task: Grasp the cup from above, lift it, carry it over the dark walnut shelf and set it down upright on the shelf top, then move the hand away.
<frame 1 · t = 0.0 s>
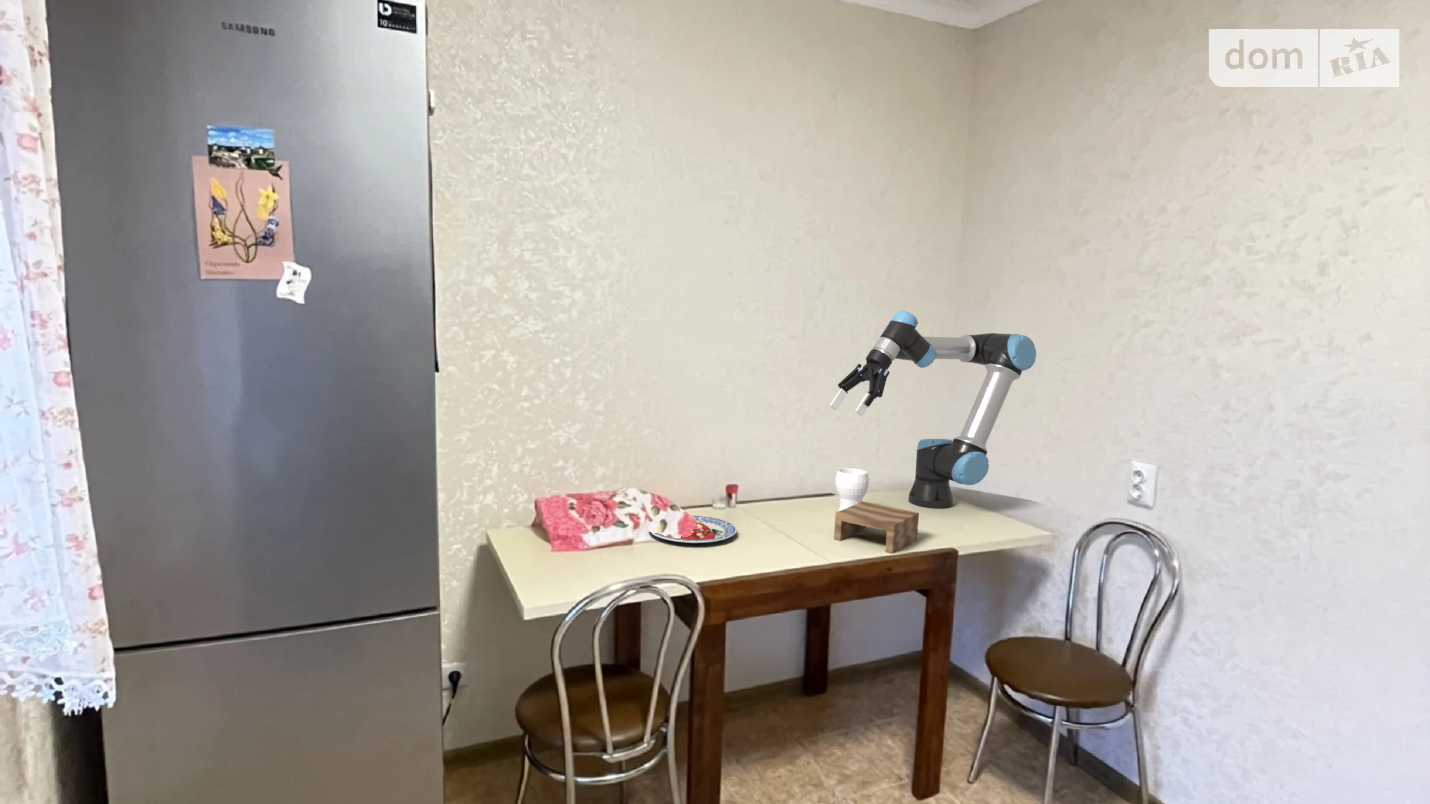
hand: (845, 410, 222), 36 cm above the table, tool tilted 35°, fingers open, 13 cm apart
cup: (849, 516, 237), on the table
walnut shelf: (875, 539, 213), on the table
ceramic plate: (691, 535, 211), on the table
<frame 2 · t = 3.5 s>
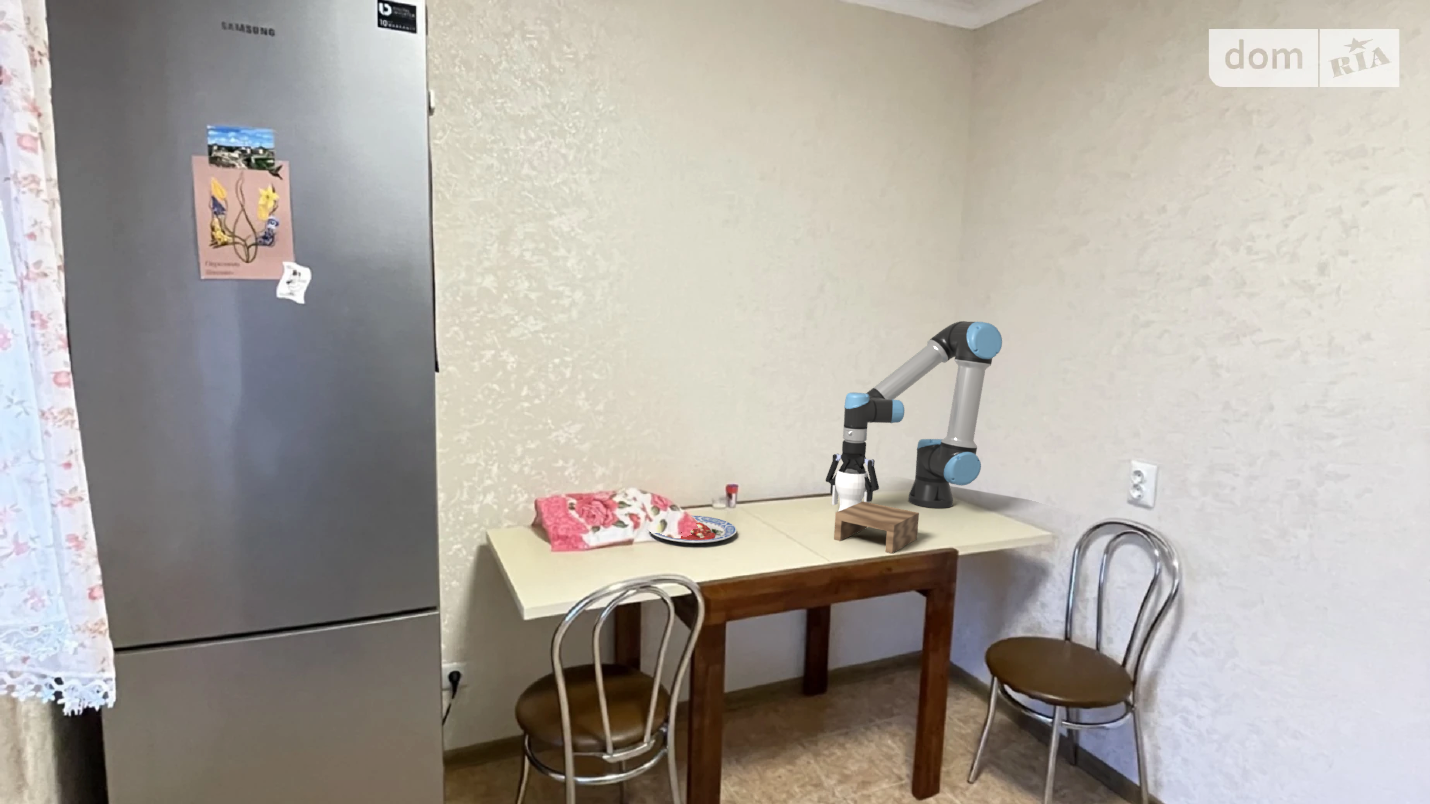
hand: (850, 507, 236), 3 cm above the table, tool pointing down, fingers closed on cup, 11 cm apart
cup: (849, 516, 237), on the table, touching gripper
everything else where it was.
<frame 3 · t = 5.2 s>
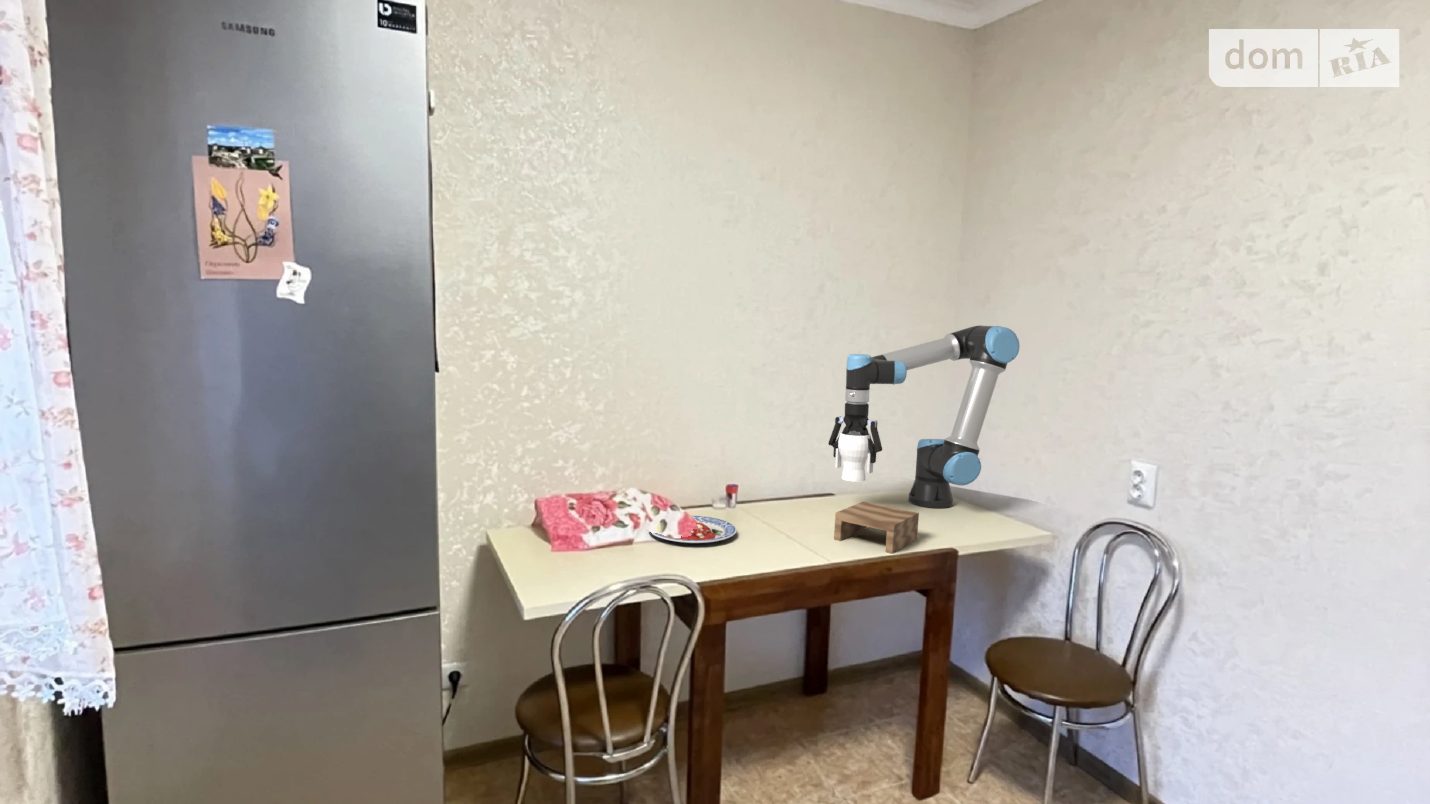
hand: (853, 470, 235), 15 cm above the table, tool pointing down, fingers closed on cup, 11 cm apart
cup: (853, 479, 235), point 12 cm above the table, touching gripper
everything else where it was.
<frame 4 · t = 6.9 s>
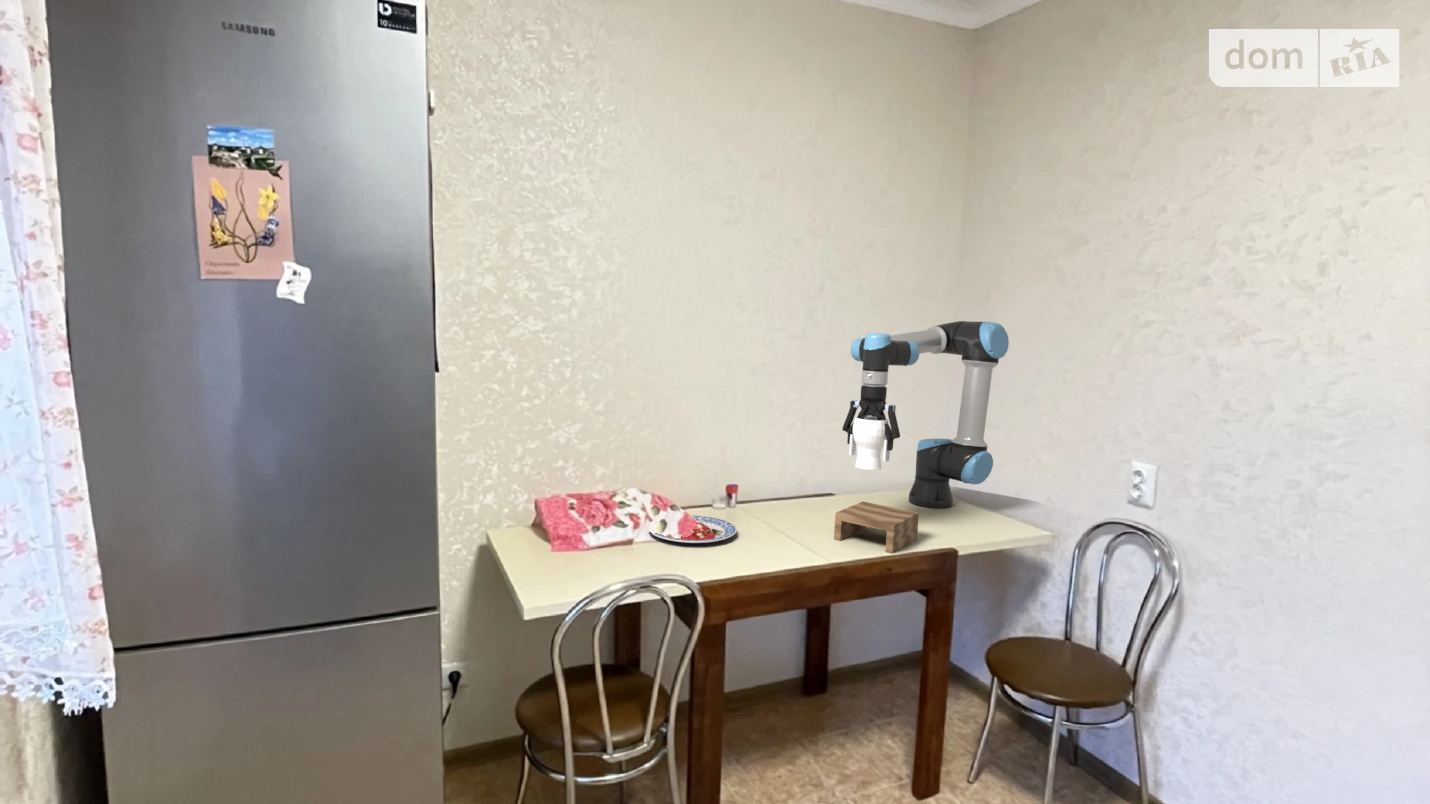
hand: (868, 458, 219), 22 cm above the table, tool pointing down, fingers closed on cup, 11 cm apart
cup: (867, 468, 219), point 19 cm above the table, touching gripper
everything else where it was.
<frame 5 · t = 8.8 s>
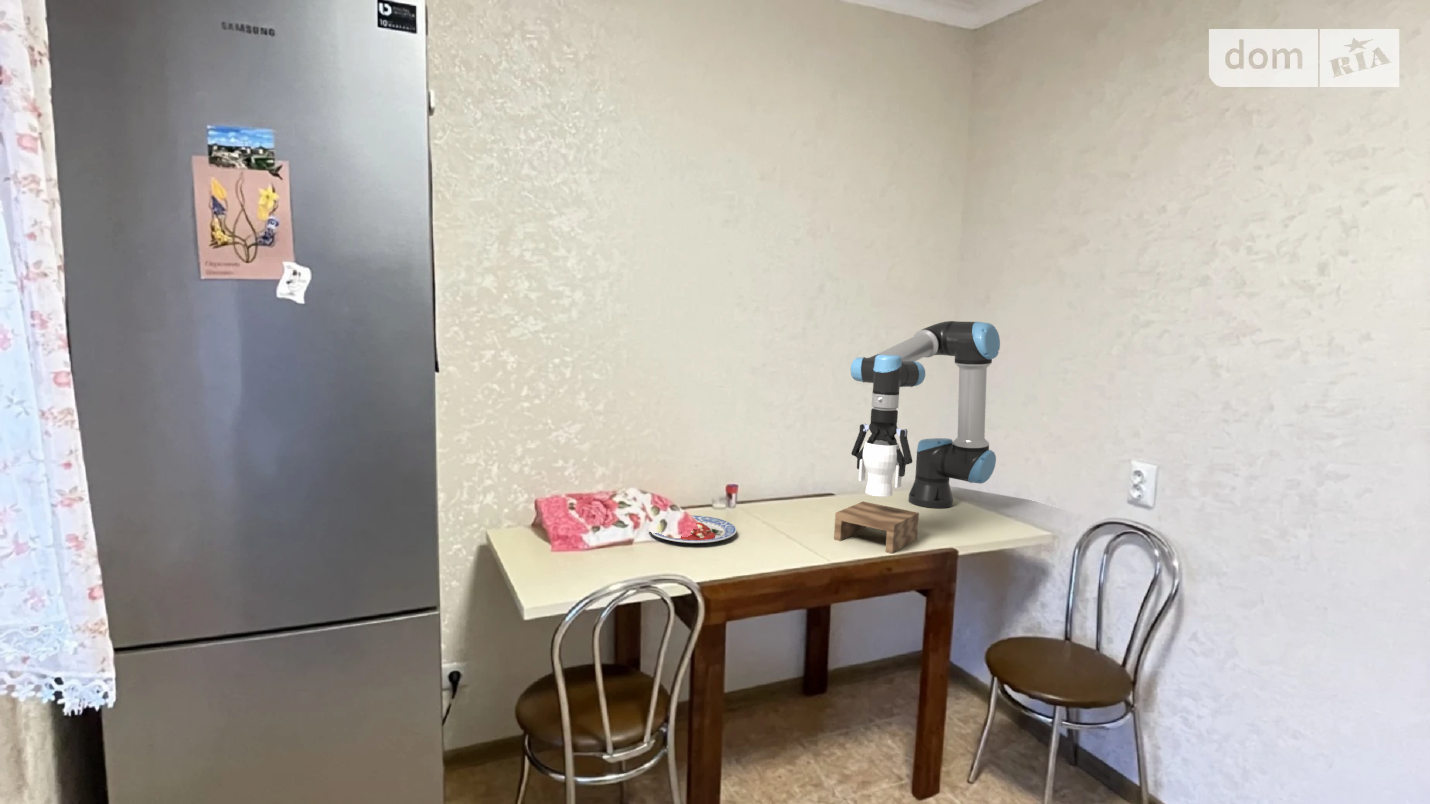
hand: (879, 483, 211), 17 cm above the table, tool pointing down, fingers closed on cup, 11 cm apart
cup: (878, 494, 211), point 14 cm above the table, touching gripper
everything else where it was.
when the fingers open (12 cm above the table, at t = 10.4 s): cup drops 1 cm, resting on walnut shelf.
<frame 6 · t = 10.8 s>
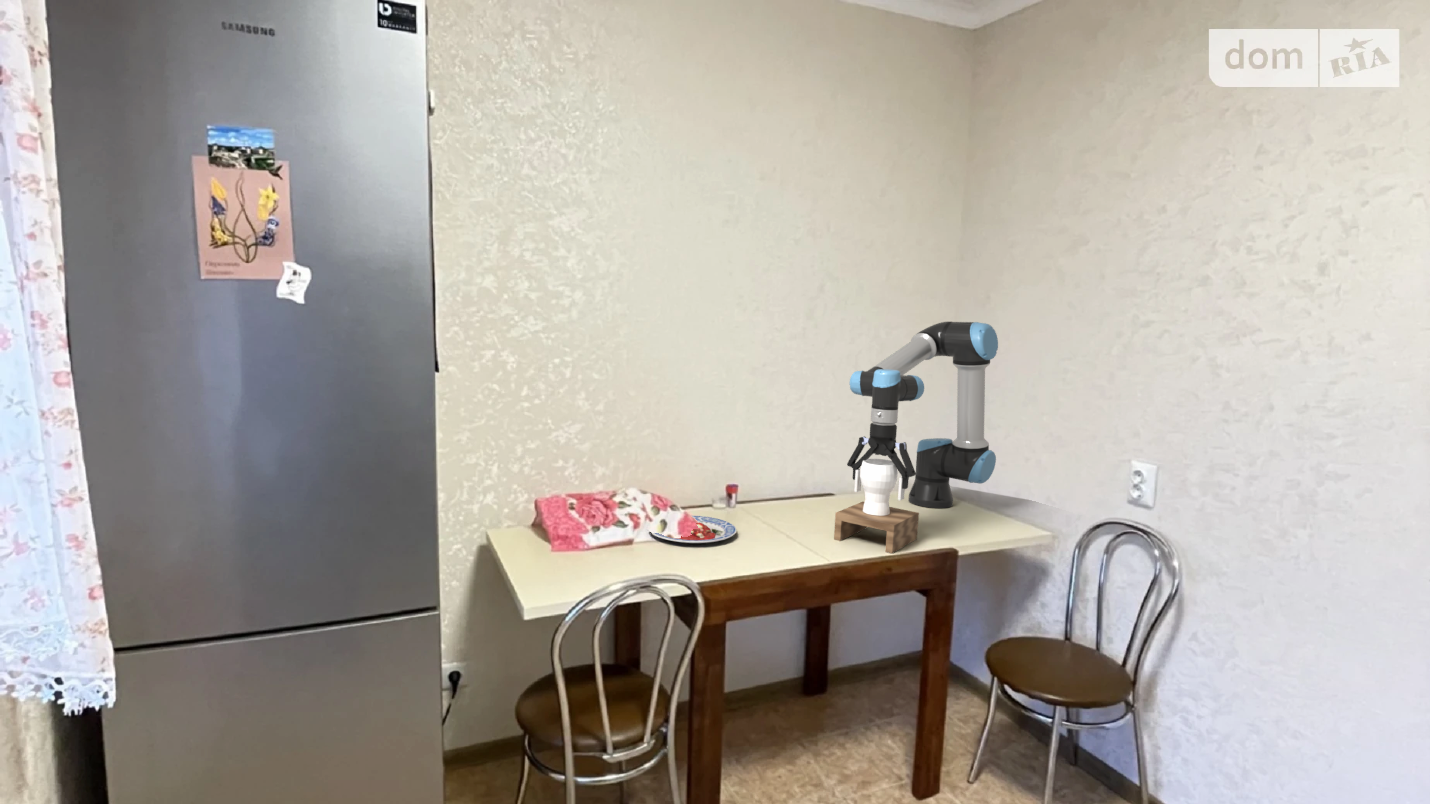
hand: (878, 495, 212), 13 cm above the table, tool pointing down, fingers open, 13 cm apart
cup: (876, 513, 213), point 8 cm above the table, touching walnut shelf
everything else where it was.
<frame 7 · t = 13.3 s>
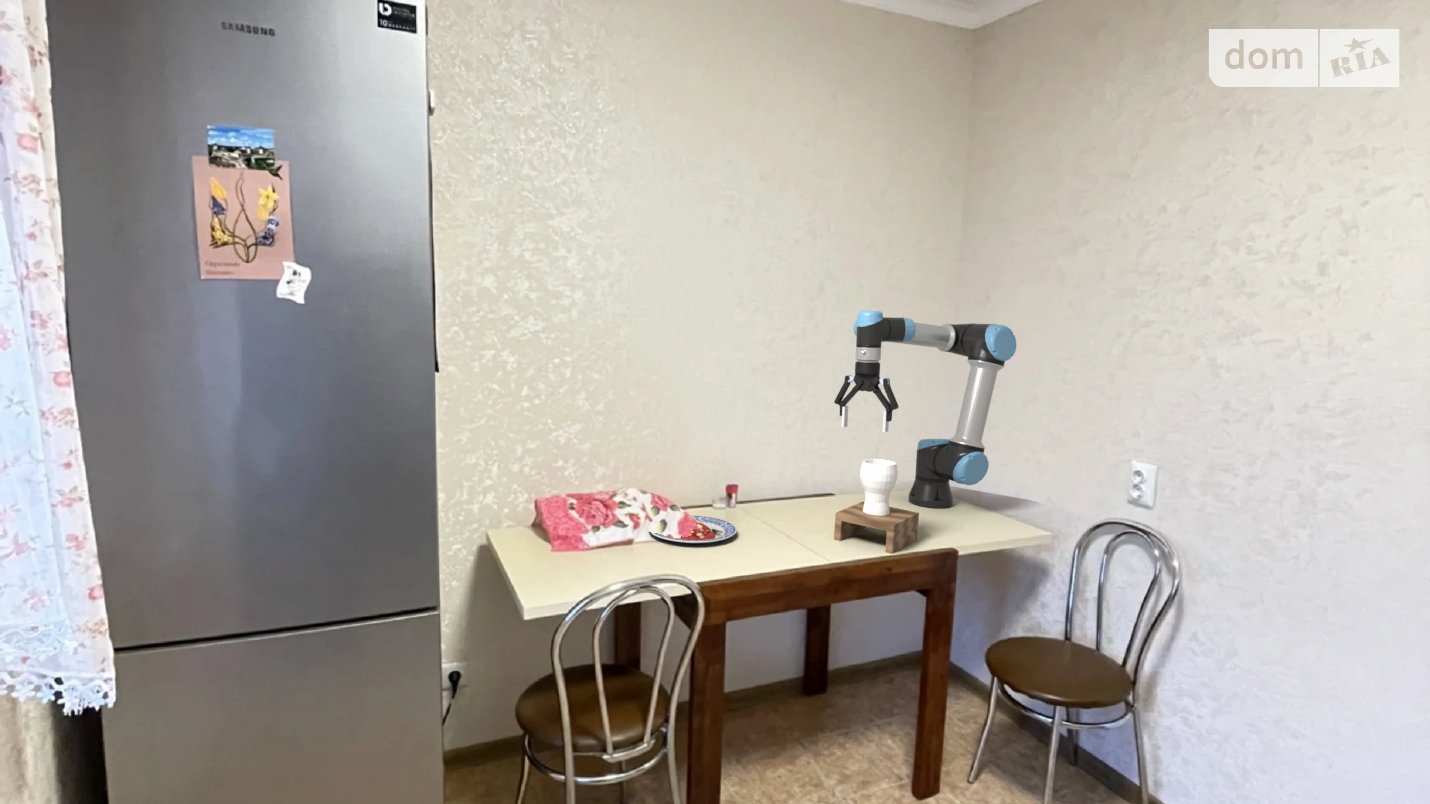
hand: (864, 429, 226), 30 cm above the table, tool pointing down, fingers open, 13 cm apart
nothing on the table moved.
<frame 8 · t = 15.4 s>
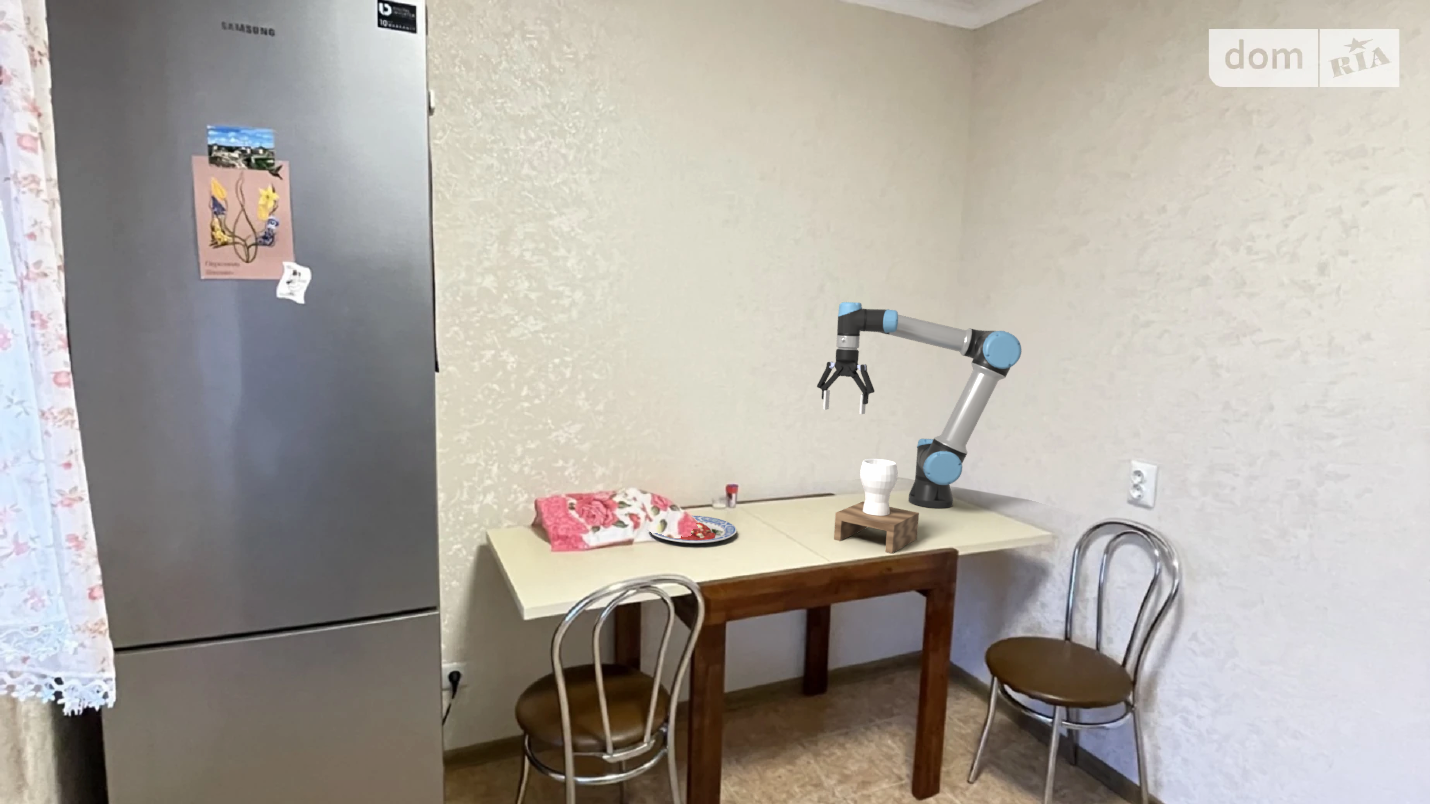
hand: (843, 411, 245), 33 cm above the table, tool pointing down, fingers open, 13 cm apart
nothing on the table moved.
at the end: cup inside the target area on the walnut shelf (0.5 cm from its centre), point 7.8 cm above the walnut shelf's base; cup tilted 0°; the gripper is holding nothing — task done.
